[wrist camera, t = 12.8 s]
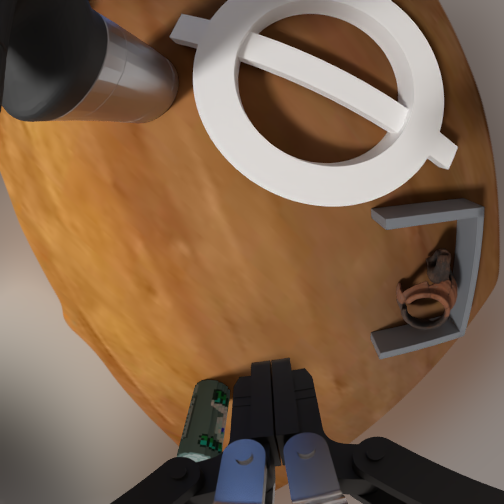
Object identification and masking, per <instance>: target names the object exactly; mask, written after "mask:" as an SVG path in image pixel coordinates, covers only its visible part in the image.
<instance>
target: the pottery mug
mask: <svg viewBox="0 0 504 504" xmlns="http://www.w3.org/2000/svg"><path fill="white" fill-rule="evenodd" d="M450 261H451V254H450V252H448V251H447V250H446V249H438V250H436V251H435V253H434V254H433V256H431V257H428V258H427V259H426V262H427V265H428V266H427V269H428V270H427V275H428V277H429V279H430V281H431V282H433V283H434V284H432V285H429V284H428V282H427V281H425V282H422V283H420V284H417V285H415V286H413V287H411V288H408V289H407V290H405V291H404V292H403V290H402V286H401V283H398V285H397V292H396V295H397V303H398V305H399V307H400V309H401V314H402V317H403V319H404V320H405V322H407V323H408V324H410V325H411V326H412V327H415V328H418V329H423V330H429V329H434V328H437V327H439V326H441V325H442V324H444V323H445V322H446V321H447V319H448V317H449V314H450V310H451V309H452V308H453V306H454V305H455V303H456V299H457V292H458V288H457V283H456V280H455V278H454V276H453V273H452V271H451V268H450ZM420 298H433V299H436V300H438V301H439V302H441V303H442V304H443V306H444V308H445V312H444V314H443V315H442V316H440V317H439V318H437V319H436V320H433V321H431V320H429V318H427V319H418V318H415V317H412V316H411V315H410V314H409V313H408V312H407V306H406V304H405V303H407V304H410V303H411V302H413V301H414V300H416V299H420Z"/></svg>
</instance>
